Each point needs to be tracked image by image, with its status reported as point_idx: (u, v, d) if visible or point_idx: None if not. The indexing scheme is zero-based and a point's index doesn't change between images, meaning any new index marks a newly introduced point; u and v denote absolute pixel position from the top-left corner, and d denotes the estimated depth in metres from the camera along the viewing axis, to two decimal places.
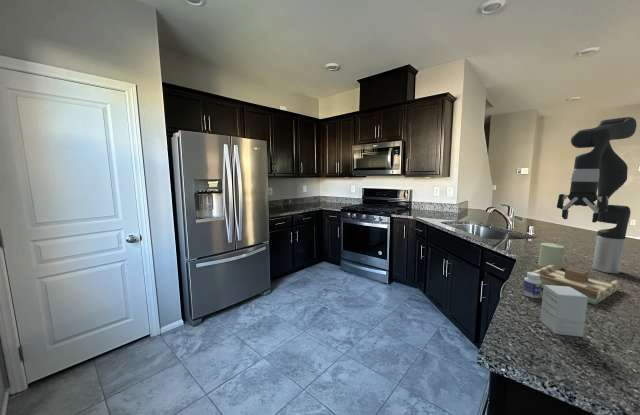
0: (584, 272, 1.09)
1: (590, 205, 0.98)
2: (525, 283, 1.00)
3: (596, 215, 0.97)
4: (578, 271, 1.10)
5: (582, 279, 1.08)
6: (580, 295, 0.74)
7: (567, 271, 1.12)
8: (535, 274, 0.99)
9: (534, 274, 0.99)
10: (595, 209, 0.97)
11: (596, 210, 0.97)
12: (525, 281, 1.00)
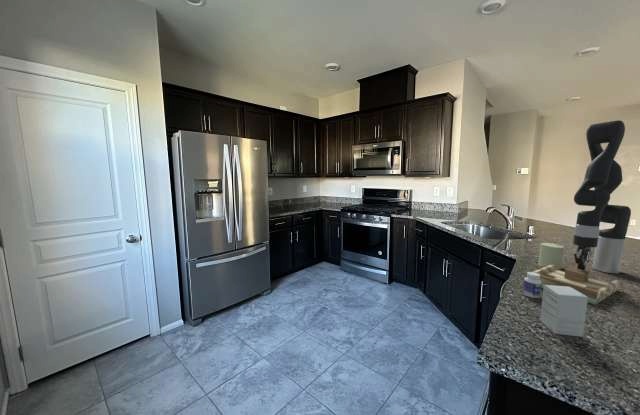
0: (584, 272, 1.09)
1: (589, 258, 1.12)
2: (525, 284, 1.00)
3: None
4: (578, 271, 1.10)
5: (582, 279, 1.08)
6: (580, 295, 0.74)
7: (567, 271, 1.12)
8: (535, 274, 0.99)
9: (534, 274, 0.99)
10: (586, 261, 1.12)
11: None
12: (525, 281, 1.00)
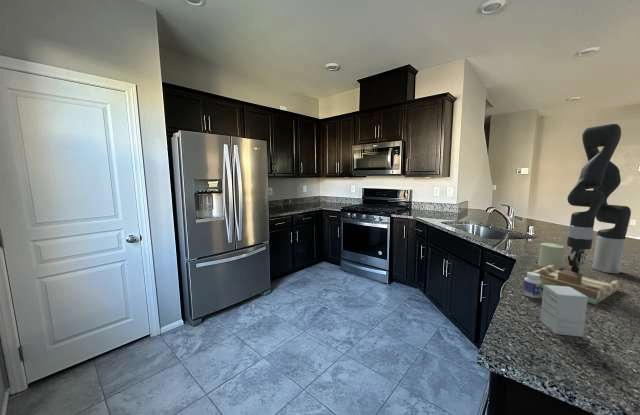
0: (578, 274, 1.06)
1: (583, 260, 1.08)
2: (525, 283, 1.00)
3: None
4: (571, 274, 1.07)
5: (575, 282, 1.04)
6: (580, 295, 0.74)
7: (560, 274, 1.08)
8: (535, 274, 0.99)
9: (534, 274, 0.99)
10: (580, 264, 1.09)
11: None
12: (525, 281, 1.00)
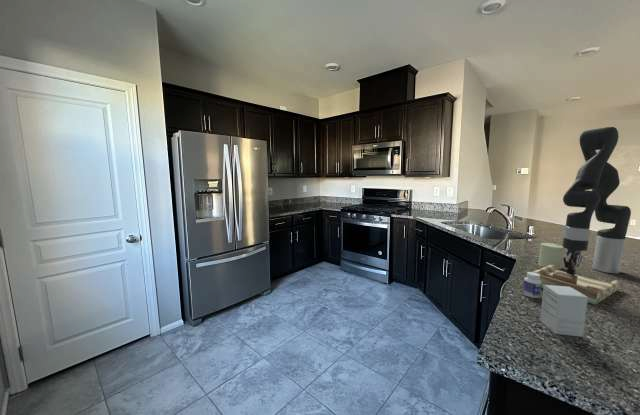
0: (572, 276, 1.04)
1: (579, 261, 1.06)
2: (525, 284, 1.00)
3: None
4: (566, 275, 1.05)
5: None
6: (580, 295, 0.74)
7: (554, 275, 1.07)
8: (535, 274, 0.99)
9: (534, 274, 0.99)
10: (576, 266, 1.07)
11: None
12: (525, 281, 1.00)
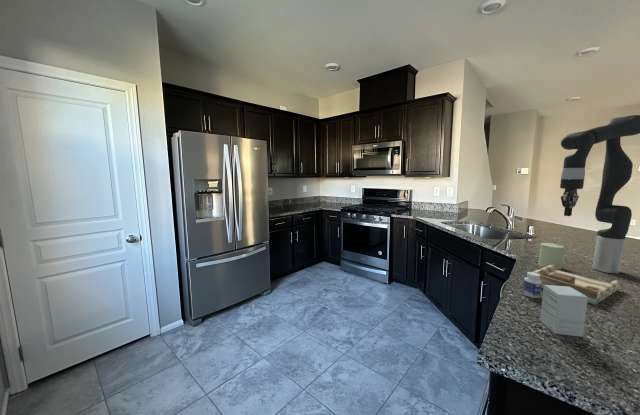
0: (570, 277, 1.03)
1: (575, 200, 1.15)
2: (525, 283, 1.00)
3: None
4: (563, 276, 1.04)
5: None
6: (580, 295, 0.74)
7: (552, 276, 1.05)
8: (535, 274, 0.99)
9: (534, 274, 0.99)
10: (573, 204, 1.15)
11: None
12: (525, 281, 1.00)
